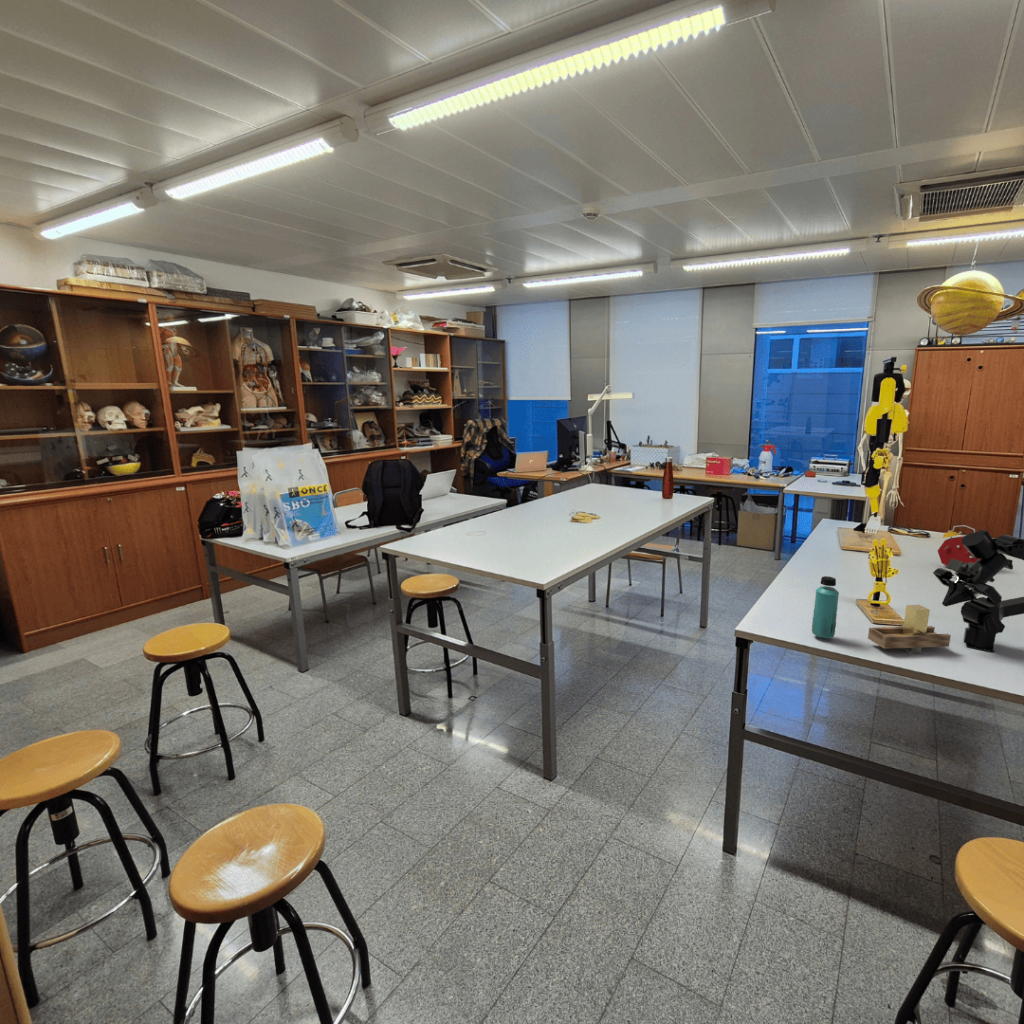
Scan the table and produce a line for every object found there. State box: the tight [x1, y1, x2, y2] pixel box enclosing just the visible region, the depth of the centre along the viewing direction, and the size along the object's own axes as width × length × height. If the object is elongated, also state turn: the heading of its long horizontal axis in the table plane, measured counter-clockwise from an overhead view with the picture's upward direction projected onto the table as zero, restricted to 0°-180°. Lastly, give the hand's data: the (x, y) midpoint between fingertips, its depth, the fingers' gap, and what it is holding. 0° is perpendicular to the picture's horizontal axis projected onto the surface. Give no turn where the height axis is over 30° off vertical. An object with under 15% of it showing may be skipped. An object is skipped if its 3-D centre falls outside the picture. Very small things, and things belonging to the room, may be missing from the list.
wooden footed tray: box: [867, 625, 951, 655], centre depth 166 cm, size 20×7×6 cm, turn 94°
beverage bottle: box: [811, 575, 840, 639], centre depth 172 cm, size 6×7×20 cm
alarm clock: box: [937, 524, 978, 567], centre depth 241 cm, size 15×9×20 cm, turn 35°
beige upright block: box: [902, 604, 931, 635], centre depth 165 cm, size 4×7×9 cm, turn 4°
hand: (943, 605), depth 164 cm, fingers closed
